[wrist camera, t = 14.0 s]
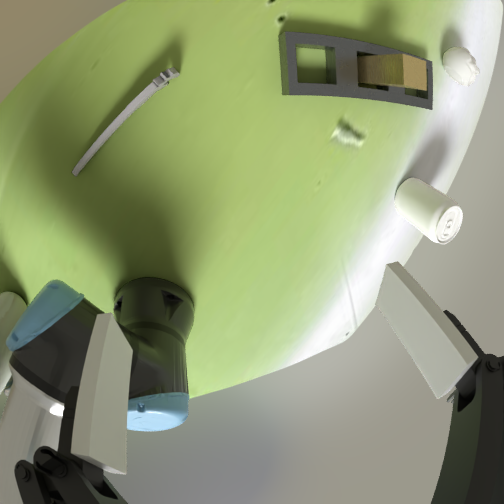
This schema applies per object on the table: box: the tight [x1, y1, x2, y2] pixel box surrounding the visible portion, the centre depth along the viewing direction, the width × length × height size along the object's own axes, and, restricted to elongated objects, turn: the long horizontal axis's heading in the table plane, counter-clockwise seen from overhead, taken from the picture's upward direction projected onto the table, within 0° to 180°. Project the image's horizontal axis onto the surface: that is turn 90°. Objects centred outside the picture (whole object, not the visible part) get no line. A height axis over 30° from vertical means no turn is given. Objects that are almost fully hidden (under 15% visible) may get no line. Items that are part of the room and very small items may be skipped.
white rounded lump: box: [443, 47, 479, 86], centre depth 27 cm, size 8×8×8 cm
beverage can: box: [395, 178, 463, 244], centre depth 40 cm, size 8×8×12 cm
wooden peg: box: [357, 54, 427, 91], centre depth 26 cm, size 4×4×12 cm
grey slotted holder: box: [278, 32, 433, 110], centre depth 30 cm, size 9×26×3 cm, turn 94°
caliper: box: [72, 67, 180, 176], centre depth 28 cm, size 20×1×6 cm, turn 126°
